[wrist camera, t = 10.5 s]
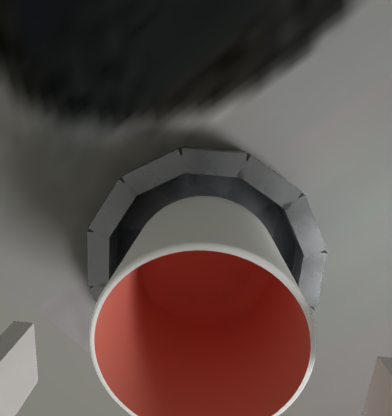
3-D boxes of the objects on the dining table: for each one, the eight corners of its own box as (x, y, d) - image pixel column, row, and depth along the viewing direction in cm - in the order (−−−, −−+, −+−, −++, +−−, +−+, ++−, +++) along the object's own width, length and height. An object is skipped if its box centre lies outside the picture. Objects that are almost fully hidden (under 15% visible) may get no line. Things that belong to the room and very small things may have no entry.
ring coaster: (100, 138, 22) (86, 140, 20) (329, 157, 22) (345, 161, 19) (100, 335, 26) (88, 357, 24) (293, 354, 26) (302, 378, 23)
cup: (143, 318, 25) (102, 440, 15) (131, 194, 22) (72, 246, 13) (271, 316, 24) (312, 441, 15) (274, 188, 22) (324, 239, 12)
